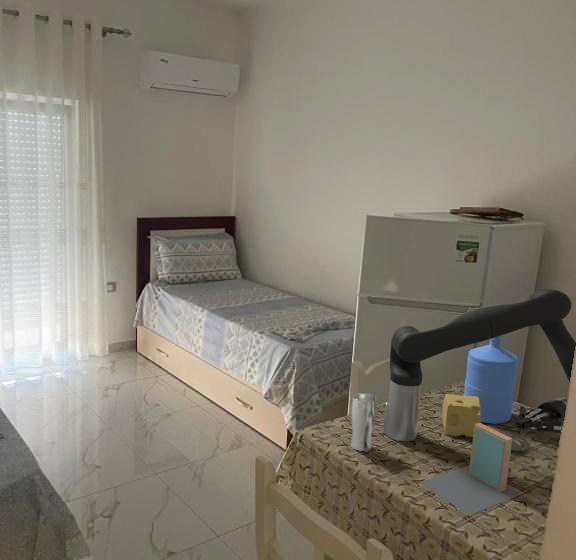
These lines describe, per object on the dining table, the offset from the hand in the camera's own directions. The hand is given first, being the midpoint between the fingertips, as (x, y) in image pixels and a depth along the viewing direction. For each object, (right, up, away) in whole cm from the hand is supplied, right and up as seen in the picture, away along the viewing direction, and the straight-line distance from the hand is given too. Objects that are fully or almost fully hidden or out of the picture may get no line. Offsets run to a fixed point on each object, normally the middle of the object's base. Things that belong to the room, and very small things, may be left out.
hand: (519, 425), depth 150 cm
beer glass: (-40, -10, +14) cm, 43 cm away
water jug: (+5, -7, +41) cm, 42 cm away
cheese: (-7, -9, +28) cm, 30 cm away
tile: (-9, -14, -3) cm, 17 cm away
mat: (-15, -15, -6) cm, 21 cm away
